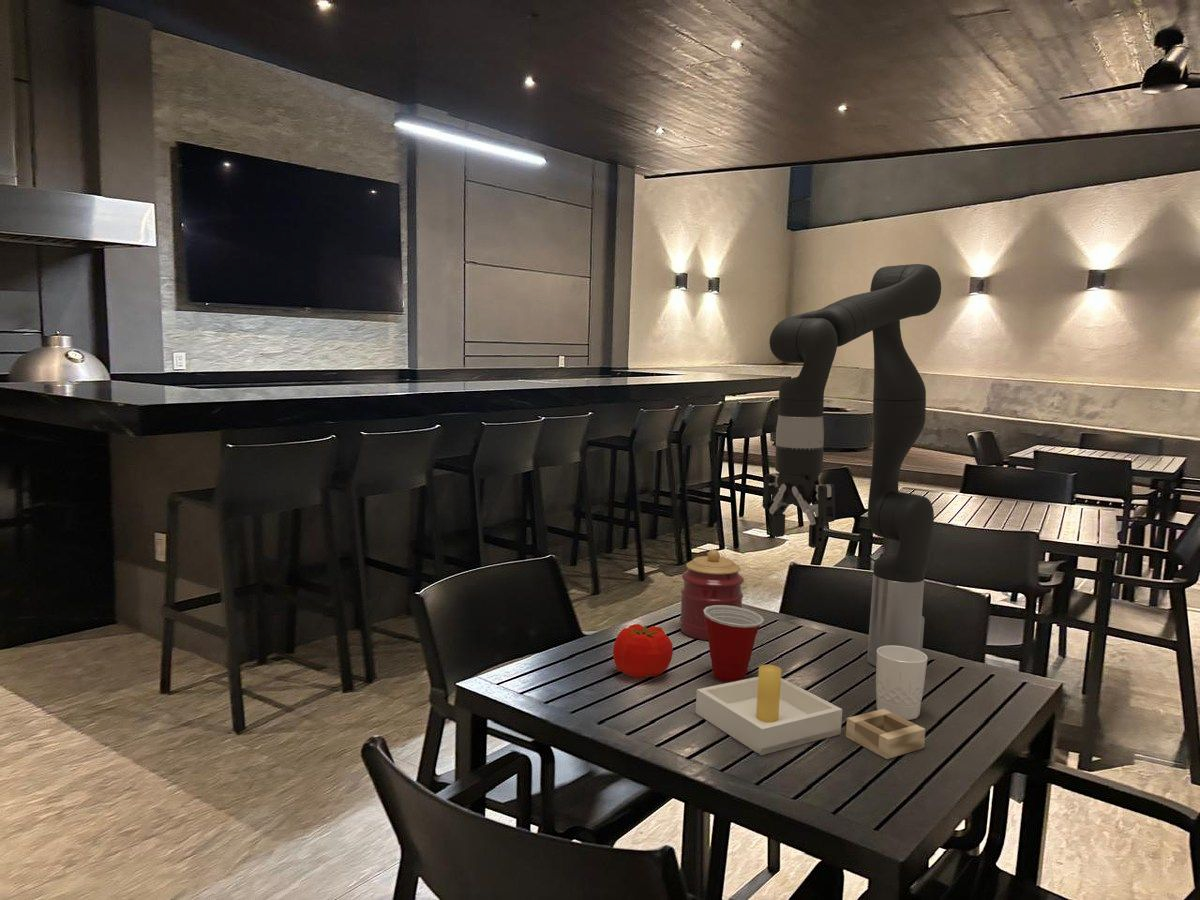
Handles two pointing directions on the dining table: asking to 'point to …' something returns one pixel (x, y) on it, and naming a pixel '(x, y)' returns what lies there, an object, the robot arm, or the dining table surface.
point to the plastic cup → (731, 640)
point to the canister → (708, 591)
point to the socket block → (885, 733)
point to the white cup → (900, 680)
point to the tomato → (642, 651)
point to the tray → (795, 726)
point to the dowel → (768, 693)
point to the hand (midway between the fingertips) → (796, 541)
